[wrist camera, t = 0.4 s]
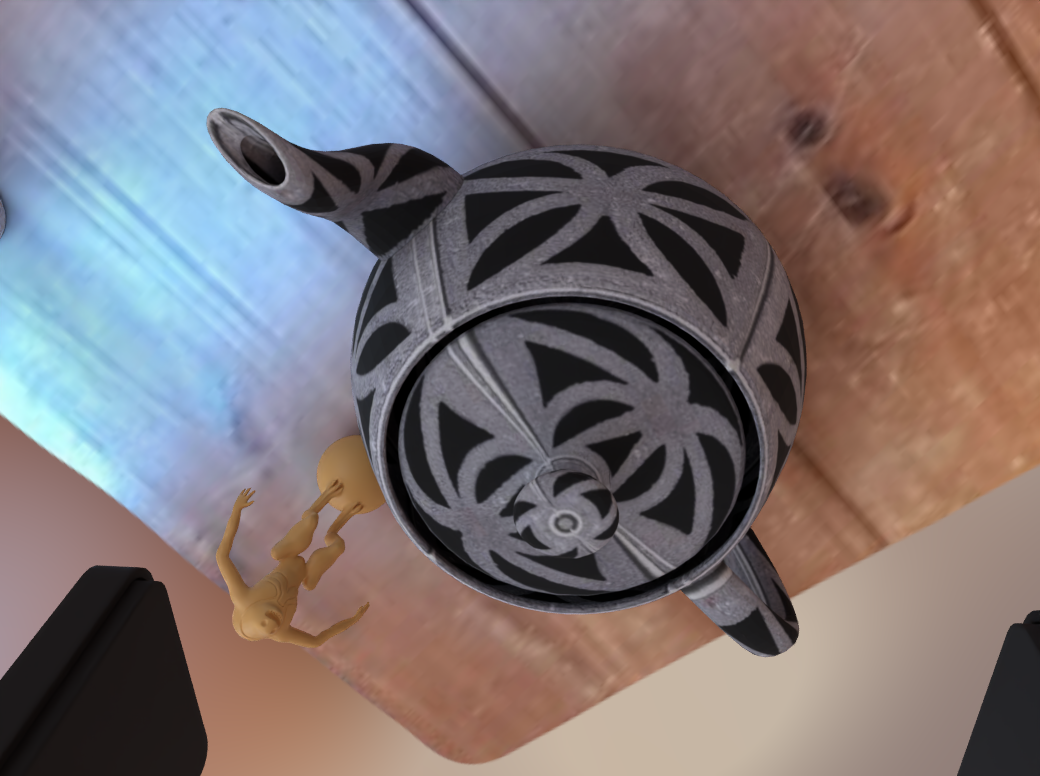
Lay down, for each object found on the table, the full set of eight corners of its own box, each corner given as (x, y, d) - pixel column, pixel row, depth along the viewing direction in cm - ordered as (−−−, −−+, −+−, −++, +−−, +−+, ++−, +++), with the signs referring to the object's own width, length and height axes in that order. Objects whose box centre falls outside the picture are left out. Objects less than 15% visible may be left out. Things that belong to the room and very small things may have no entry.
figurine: (444, 490, 46) (398, 659, 36) (362, 538, 48) (295, 712, 38) (341, 376, 43) (257, 524, 33) (258, 433, 46) (154, 589, 35)
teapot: (487, -124, 32) (409, -149, 19) (919, 419, 42) (1063, 650, 29) (186, 201, 40) (-19, 344, 27) (613, 602, 49) (616, 854, 36)
